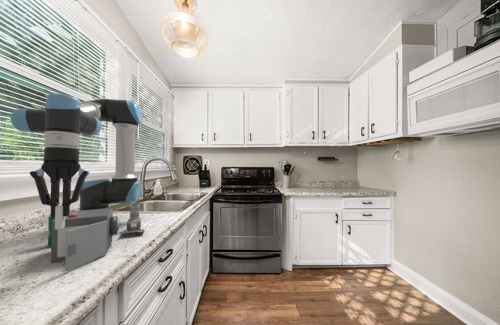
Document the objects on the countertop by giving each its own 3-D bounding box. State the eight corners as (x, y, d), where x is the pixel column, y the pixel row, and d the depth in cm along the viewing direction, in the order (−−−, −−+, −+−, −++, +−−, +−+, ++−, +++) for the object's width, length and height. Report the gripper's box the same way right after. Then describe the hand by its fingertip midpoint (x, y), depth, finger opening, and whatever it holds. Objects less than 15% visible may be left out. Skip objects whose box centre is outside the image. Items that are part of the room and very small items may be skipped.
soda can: (51, 243, 77) (52, 212, 77) (68, 241, 79) (69, 210, 79) (44, 248, 72) (45, 215, 73) (62, 245, 74) (63, 213, 75)
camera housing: (66, 247, 73) (67, 209, 73) (119, 239, 81) (120, 205, 81) (50, 263, 61) (51, 218, 61) (115, 252, 68) (115, 212, 69)
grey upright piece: (145, 202, 99) (144, 208, 86) (144, 226, 99) (144, 236, 85) (124, 204, 95) (120, 210, 82) (124, 228, 95) (120, 239, 82)
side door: (63, 270, 56) (64, 230, 56) (104, 252, 67) (105, 220, 67) (68, 271, 55) (69, 231, 55) (109, 253, 66) (109, 220, 67)
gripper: (24, 145, 52) (21, 235, 52) (87, 147, 59) (84, 228, 58) (37, 147, 59) (35, 227, 58) (92, 149, 65) (91, 222, 64)
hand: (59, 227), depth 58 cm, fingers closed
